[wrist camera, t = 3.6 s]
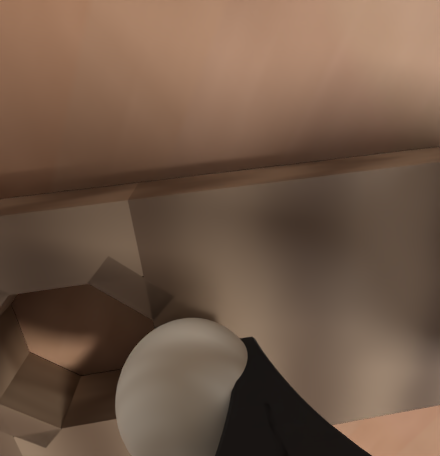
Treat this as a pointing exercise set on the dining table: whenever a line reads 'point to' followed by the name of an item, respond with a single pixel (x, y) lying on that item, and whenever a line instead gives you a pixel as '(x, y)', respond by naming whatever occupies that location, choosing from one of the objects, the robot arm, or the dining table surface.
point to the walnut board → (237, 285)
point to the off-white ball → (178, 388)
